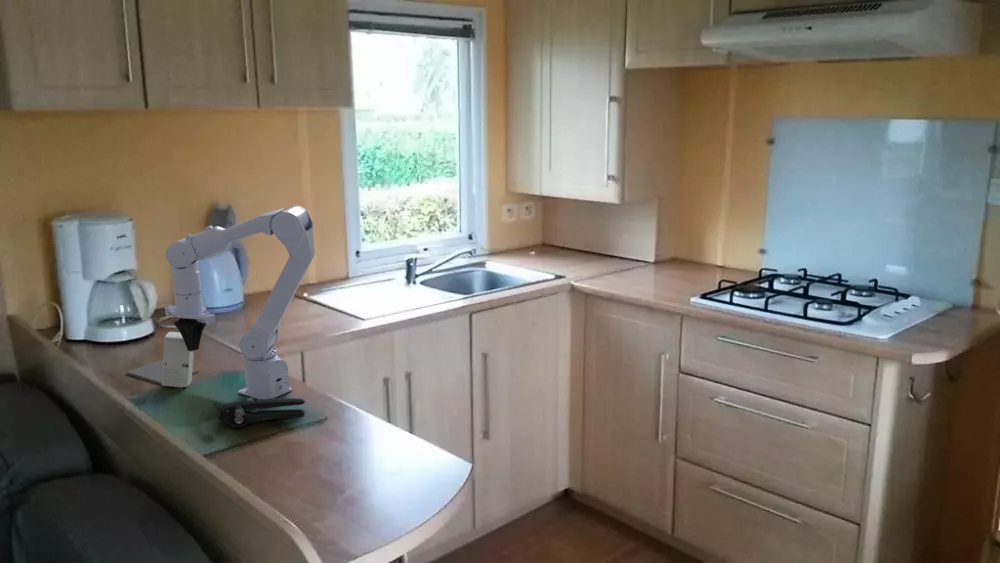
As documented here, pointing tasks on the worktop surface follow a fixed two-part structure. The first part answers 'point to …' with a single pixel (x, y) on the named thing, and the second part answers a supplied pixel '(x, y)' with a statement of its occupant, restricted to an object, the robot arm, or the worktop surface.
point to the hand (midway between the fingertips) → (193, 349)
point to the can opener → (240, 416)
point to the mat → (151, 372)
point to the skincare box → (176, 361)
